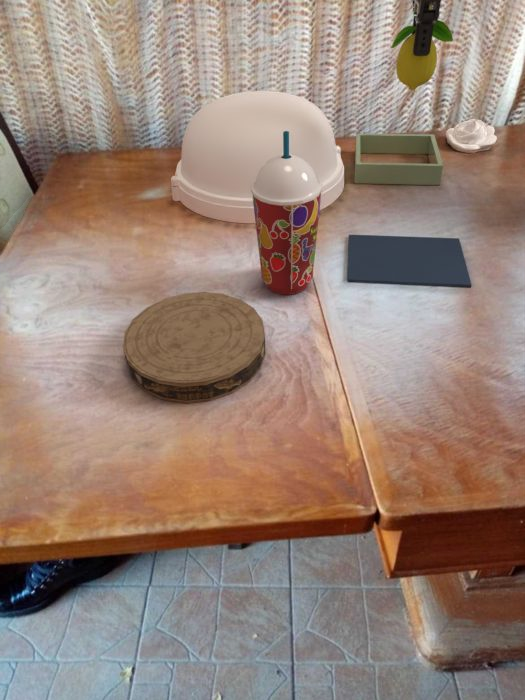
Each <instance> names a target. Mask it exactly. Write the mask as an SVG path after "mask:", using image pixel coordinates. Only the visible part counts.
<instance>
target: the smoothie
mask: <svg viewBox="0 0 525 700" xmlns="http://www.w3.org/2000/svg"><path fill="white" fill-rule="evenodd" d="M251 192H252V194H253V205H254V214H255V222H256V223H255V231H256V237H257V238H256V239H257V240H256V241H257V248H258V256H259V263H260V270H261V271H260V273H261V278H262V280H263V282H264V283H265V284H266V287H267V289H269V290H270V291H272V292H273V293H276V294H279V295H294V294H298V293H301V292H303V291H304V290H305V289H307V288H308V285H309V283H310V282H311V280H312V278H313V276H314V269H315V268H314V267H315V260H316V259H315V258H316V249H317V238H318V228H319V220H320V219H319V218H320V211H321V210H320V200H321V192H322V183H321V182H320V181H319V180H318V177H317V175H316V173H315V171H314V169H313V168H312V167H311V165H310V164H309V163H308V162H307V161H306V160H304V159H302V158H301V157H298V156H295V155H291V154H289V131H284V132H283V155H279V156H276V157H273V158H272V159H270V160H268V161H267V162H266V163H265V164H264V165H263V166H262V168H261V169H260V170H259V172H258V174H257V176H256V179H255V181H254V182H253V184H252V186H251Z"/></svg>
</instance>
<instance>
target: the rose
mask: <svg viewBox="0 0 525 700" xmlns="http://www.w3.org/2000/svg"><path fill="white" fill-rule="evenodd" d="M445 138H446V143H447V144H449V146H451V148H452V149H453V150H455V151H458V152H460V153H466V154H467V153H468V154H473V153H478V152H483V151H488V150H489V151H490V149H491V148H492V147H493V146H494V145H495V143H496V142H497V140H498V137H497V135H496V134H495V127H494V126H493V125H490V124H487V125H486V124H485V123H484V121H482V120H481V119H474V118H470V119H467V120H465V121H462V122H460V123H458V124H456V125H455V126H454V127H450V128H448V129H447V130H446V131H445Z"/></svg>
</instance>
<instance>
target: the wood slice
mask: <svg viewBox="0 0 525 700" xmlns="http://www.w3.org/2000/svg"><path fill="white" fill-rule="evenodd" d="M264 326H265V325H264V320H263V319H262V317H261V316H260V314H259V313H258V311H257V310H256V309H255V307H253V306H251V305H250V304H249V303H247V302H245V301H244V300H243V299H240V298H239V297H238V298H237V297H234V296H233V295H232V296H231V295H228V294H225V293H219V292H209V291H198V292H185V293H181V294H177V295H174V296H170V297H166V298H163V299H161V300H159V301H157V302H154V303H153V304H151V305H148V306H147V307H146V308H144V309H143V310H142V311H140V312H139V313H138V314H137V315H136V316H135V317H133V319H132V320H131V322H130V323H129V324H128V326H127V327H126V329H125V331H124V335H123V341H122V350H123V353H124V357H125V360H126V364H127V368H128V370H129V373H130V376H131V379H132V381H133V382H134V383H135V384H136V385H137V386H138V387H139V388H141V389H142V391H143V392H145V393H147V394H149V395H151V396H153V397H155V398H158V399H160V400H163V401H166V402H167V401H168V402H174V403H181V404H193V403H203V402H211V401H214V400H217V399H220V398H223V397H225V396H226V397H227V396H229V395H232V394H233V393H235V392H237V391H238V390H240V389H241V388H243V387H244V386H246V385H247V384H249V383H250V382H251V381H252V380H253V378H254V377H256V376H257V374H258V372H260V370H261V369H262V366H263V364H264V360H265V357H266V333H265V327H264Z"/></svg>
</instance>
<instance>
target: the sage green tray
mask: <svg viewBox="0 0 525 700" xmlns="http://www.w3.org/2000/svg"><path fill="white" fill-rule="evenodd" d="M354 143H355V144H354V170H353V172H354V175H353V183H354V184H365V185H366V184H367V185H368V184H371V185H372V184H374V185H411V186H412V185H413V186H415V185H416V186H440V185H441V179H442V175H443V170H444V169H443V168H444V164H443V161H442V157H441V154H440V150H439V147H438V143H437V139H436V135H435V134H433V133H432V134H430V133H429V134H427V133H423V134H422V133H421V134H420V133H355V142H354ZM361 154H394V155H396V154H397V155H398V154H399V155H400V154H401V155H427V158H428V162H429V163H410V162H409V163H408V162H406V163H405V162H402V163H401V162H362V161H361Z"/></svg>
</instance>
